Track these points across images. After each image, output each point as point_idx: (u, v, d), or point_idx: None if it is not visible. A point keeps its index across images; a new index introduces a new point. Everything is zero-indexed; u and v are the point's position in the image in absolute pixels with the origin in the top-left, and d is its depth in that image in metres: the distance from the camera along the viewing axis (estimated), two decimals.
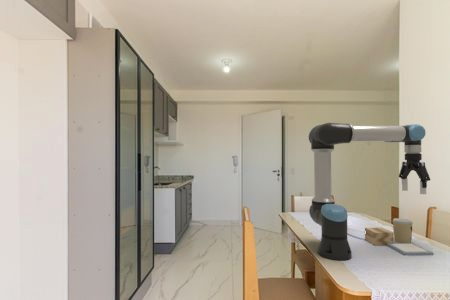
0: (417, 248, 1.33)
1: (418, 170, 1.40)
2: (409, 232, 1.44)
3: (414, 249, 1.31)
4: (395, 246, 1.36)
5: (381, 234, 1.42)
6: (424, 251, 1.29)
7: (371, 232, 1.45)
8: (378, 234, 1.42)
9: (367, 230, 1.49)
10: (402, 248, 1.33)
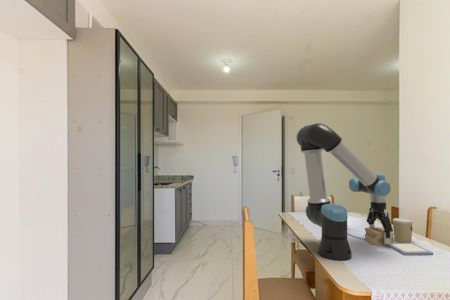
0: (417, 248, 1.33)
1: (382, 220, 1.43)
2: (409, 232, 1.44)
3: (414, 249, 1.31)
4: (395, 246, 1.36)
5: (381, 234, 1.42)
6: (424, 251, 1.29)
7: (371, 232, 1.45)
8: (378, 234, 1.42)
9: (367, 230, 1.49)
10: (402, 248, 1.33)
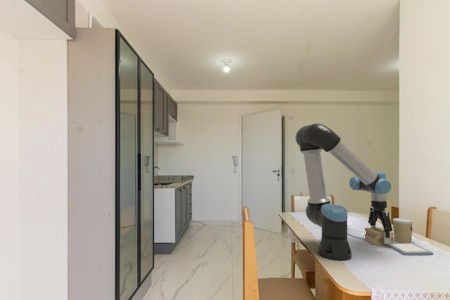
0: (417, 248, 1.33)
1: (383, 219, 1.42)
2: (409, 232, 1.44)
3: (414, 249, 1.31)
4: (395, 246, 1.36)
5: (381, 234, 1.42)
6: (424, 251, 1.29)
7: (371, 232, 1.45)
8: (378, 234, 1.42)
9: (367, 230, 1.49)
10: (402, 248, 1.33)
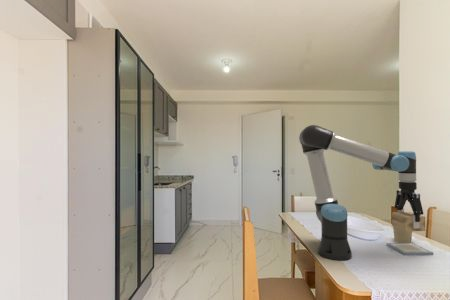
0: (417, 248, 1.33)
1: (412, 201, 1.31)
2: (409, 232, 1.44)
3: (414, 249, 1.31)
4: (395, 246, 1.36)
5: (412, 218, 1.30)
6: (424, 251, 1.29)
7: (400, 217, 1.33)
8: (409, 218, 1.30)
9: (395, 215, 1.37)
10: (402, 248, 1.33)
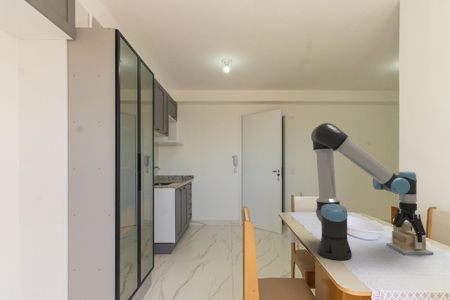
0: None
1: (413, 222, 1.31)
2: None
3: None
4: (395, 246, 1.36)
5: (412, 238, 1.30)
6: (424, 251, 1.29)
7: (400, 236, 1.33)
8: (409, 238, 1.30)
9: (395, 234, 1.37)
10: None
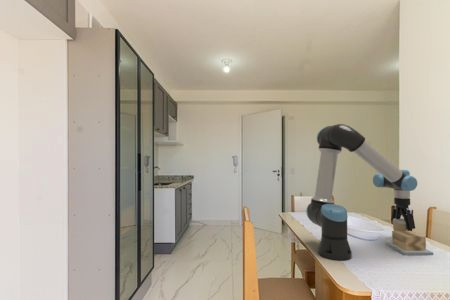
0: None
1: (406, 216, 1.44)
2: None
3: None
4: (395, 246, 1.36)
5: (412, 238, 1.30)
6: (424, 251, 1.29)
7: (400, 236, 1.33)
8: (409, 238, 1.30)
9: (395, 234, 1.37)
10: None
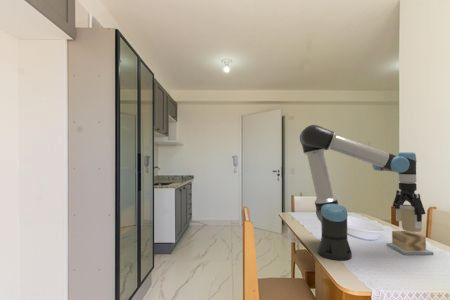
0: None
1: (413, 202, 1.31)
2: None
3: None
4: (395, 246, 1.36)
5: (412, 238, 1.30)
6: (424, 251, 1.29)
7: (400, 236, 1.33)
8: (409, 238, 1.30)
9: (395, 234, 1.37)
10: None
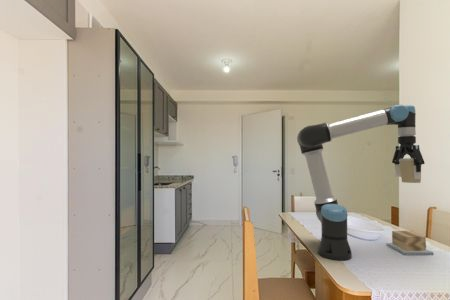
0: None
1: (412, 154, 1.31)
2: None
3: None
4: (395, 246, 1.36)
5: (412, 238, 1.30)
6: (424, 251, 1.29)
7: (400, 236, 1.33)
8: (409, 238, 1.30)
9: (395, 234, 1.37)
10: None
